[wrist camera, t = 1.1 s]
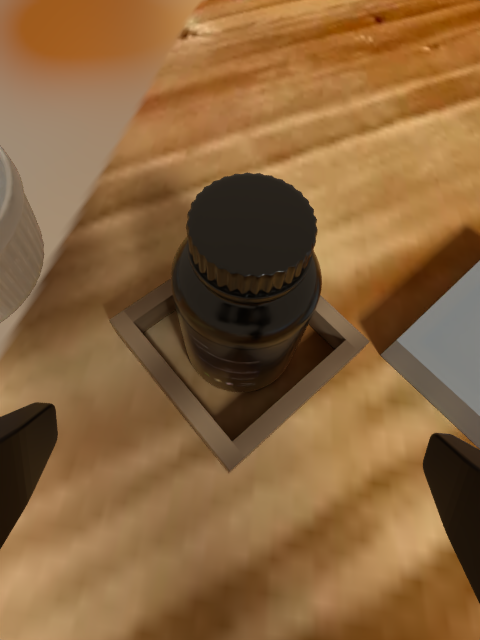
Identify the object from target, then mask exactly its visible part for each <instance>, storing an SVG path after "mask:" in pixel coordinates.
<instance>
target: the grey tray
mask: <svg viewBox="0 0 480 640" xmlns="http://www.w3.org/2000/svg"><path fill="white" fill-rule="evenodd" d="M381 356H382V357H383V358H384V359H385V360H386V361H387V362H388V363H389V364H390V365H391V366H392V367H393V368H394V369H395V370H397V371H398V372H399V373H400V374H401V375H402V376H403V377H404V378H405V379H406V380H407V381H408V382H409V383H410V384H411V385H412V386H414V387H415V388H416V389H417V390H418V391H419V392H420V393H421V394H422V395H423V396H424V397H425V398H426V399H427V400H428V401H429V402H431V403H432V404H433V405H434V406H435V407H436V408H437V409H438V410H439V411H440V412H441V413H442V414H443V415H444V416H445V417H446V418H448V419H449V420H450V421H451V422H452V423H453V424H454V425H455V426H456V427H457V428H458V429H459V430H460V431H461V432H462V433H463V434H465V435H466V436H467V437H468V438H469V439H470V440H471V441H472V442H473V443H474V444H475V445H476V446H477V447H478V448H479V449H480V260H479V261H478V262H477V263H476V264H475V265H474V266H473V267H472V268H471V269H470V270H469V271H468V272H467V273H465V274H464V275H463V276H462V277H461V278H460V279H459V280H458V281H457V282H456V283H455V284H454V285H453V286H452V287H451V288H450V289H449V290H448V291H447V292H446V293H445V294H444V295H443V296H441V297H440V298H439V299H438V300H437V301H436V302H435V303H434V304H433V305H432V306H431V307H430V308H429V309H428V310H427V311H426V312H425V313H424V314H423V315H422V316H421V317H420V318H418V319H417V320H416V321H415V322H414V323H413V324H412V325H411V326H410V327H409V328H408V329H407V330H406V331H405V332H404V333H403V334H402V335H401V336H400V337H399V338H398V339H397V340H396V341H394V342H393V343H392V344H391V345H390V346H389V347H388V348H387V349H386V350H385V351H384V352H383V353H382V354H381Z"/></svg>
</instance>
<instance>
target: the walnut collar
mask: <svg viewBox="0 0 480 640" xmlns="http://www.w3.org/2000/svg"><path fill="white" fill-rule="evenodd" d="M174 310H176V307H175V303H174V299H173V294H172V288H171V279H169V280H168V281H166V282H165V283H163V284H162V285H160V286H159V287H157V288H156V289H154V290H153V291H151V292H150V293H148V294H147V295H145V296H144V297H143V298H141V299H140V300H138V301H137V302H135V303H134V304H132V305H131V306H129V307H128V308H126V309H125V310H123V311H122V312H120V313H119V314H117V315H116V316H114V317H113V318H111V319H110V320H109V321H110V323H111V324H112V326H113V328H114V329H115V331H116V333H117V334H118V335H119V337H120V338H121V339H122V340H123V342H124V343H125V344H126V345H127V347H128V348H129V349H130V350H131V352H132V353H133V354H134V356H135V357H136V358H137V359H138V361H139V362H140V363H141V364H142V366H143V367H144V368H145V369H146V371H147V372H148V373H149V374H150V376H151V377H152V378H153V379H154V381H155V382H156V383H157V384H158V386H159V387H160V388H161V389H162V391H163V392H164V393H165V394H166V396H167V397H168V398H169V399H170V401H171V402H172V403H173V404H174V406H175V407H176V408H177V409H178V411H179V412H180V413H181V414H182V416H183V417H184V418H185V419H186V421H187V422H188V423H189V424H190V426H191V427H192V428H193V429H194V431H195V432H196V433H197V434H198V436H199V437H200V438H201V439H202V441H203V442H204V443H205V444H206V446H207V447H208V448H209V449H210V451H211V452H212V453H213V454H214V456H215V457H216V458H217V459H218V461H219V462H220V463H221V464H222V466H223V467H224V468H225V469H226V471H227V472H228V473H230V472H231V471H232V470H233V469H234V468H236V467H237V466H238V465H239V464H240V463H241V462H242V461H243V460H244V459H245V458H246V457H247V456H248V455H250V454H251V453H252V452H253V451H254V450H255V449H256V448H257V447H258V446H259V445H260V444H261V443H263V442H264V441H265V440H266V439H267V438H268V437H269V436H270V435H271V434H272V433H273V432H274V431H275V430H277V429H278V428H279V427H280V426H281V425H282V424H283V423H284V422H285V421H286V420H287V419H288V418H289V417H291V416H292V415H293V414H294V413H295V412H296V411H297V410H298V409H299V408H300V407H301V406H302V405H303V404H305V403H306V402H307V401H308V400H309V399H310V398H311V397H312V396H313V395H314V394H315V393H316V392H317V391H319V390H320V389H321V388H322V387H323V386H324V385H325V384H326V383H327V382H328V381H329V380H330V379H331V378H333V377H334V376H335V375H336V374H337V373H338V372H339V371H340V370H341V369H342V368H343V367H344V366H345V365H347V364H348V363H349V362H350V361H351V360H352V359H353V358H354V357H355V356H356V355H357V354H358V353H359V352H360V351H361V350H362V349H363V348H364V347H365V346H366V345H367V344H368V343H369V342H370V341H369V340H368V339H366V338H365V337H364V336H363V335H362V334H361V333H360V332H359V331H358V330H357V329H356V328H355V327H354V326H353V325H352V324H350V323H349V322H348V321H347V320H346V319H345V318H344V317H343V316H342V315H341V314H340V313H339V312H338V311H337V310H336V309H334V308H333V307H332V306H331V305H330V304H329V303H328V302H327V301H326V300H325V299H324V298H323V297H322V296H321V295H320V298H319V301H318V304H317V307H316V309H315V311H314V313H313V316H312V318H311V320H310V322H309V325H310V326H311V327H312V328H313V329H314V330H315V331H316V332H317V333H318V334H319V335H320V336H321V337H322V338H324V339H325V340H326V341H327V342H328V343H329V344H330V345H331V346H332V347H333V348H334V349H335V350H334V351H333V352H332V353H331V354H330V355H329V356H327V357H326V358H325V359H324V360H323V361H322V362H321V363H320V364H319V365H317V366H316V367H315V368H314V369H313V370H312V371H311V372H310V373H308V374H307V375H306V376H305V377H304V378H303V379H302V380H301V381H300V382H298V383H297V384H296V385H295V386H294V387H293V388H292V389H291V390H290V391H288V392H287V393H286V394H285V395H284V396H283V397H282V398H281V399H279V400H278V401H277V402H276V403H275V404H274V405H273V406H272V407H271V408H269V409H268V410H267V411H266V412H265V413H264V414H263V415H262V416H260V417H259V418H258V419H257V420H256V421H255V422H254V423H253V424H252V425H250V426H249V427H248V428H247V429H246V430H245V431H244V432H243V433H242V434H240V435H239V436H238V437H237V438H236V439H235V440H234V441H233V442H232V441H231V440H230V439H229V437H228V436H227V435H226V434H225V433H224V431H223V430H222V429H221V428H220V427H219V425H218V424H217V423H216V422H215V421H214V419H213V418H212V417H211V416H210V414H209V413H208V412H207V411H206V410H205V408H204V407H203V406H202V405H201V404H200V402H199V401H198V400H197V399H196V398H195V396H194V395H193V394H192V393H191V392H190V390H189V389H188V388H187V387H186V385H185V384H184V383H183V382H182V381H181V379H180V378H179V377H178V376H177V375H176V373H175V372H174V371H173V370H172V369H171V367H170V366H169V365H168V364H167V363H166V361H165V360H164V359H163V358H162V356H161V355H160V354H159V353H158V352H157V350H156V349H155V348H154V347H153V346H152V344H151V343H150V342H149V341H148V340H147V338H146V337H145V336H144V335H143V334H142V333H143V332H145V331H146V330H147V329H149V328H150V327H152V326H153V325H155V324H156V323H157V322H159V321H160V320H162V319H163V318H164V317H166V316H167V315H169V314H170V313H172V312H173V311H174Z"/></svg>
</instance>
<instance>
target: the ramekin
mask: <svg viewBox="0 0 480 640" xmlns="http://www.w3.org/2000/svg"><path fill="white" fill-rule="evenodd" d="M43 246H44V244H43V240H42V235H41V231H40V228H39V226H38V223H37V221H36V218H35V216H34V214H33V211H32V209H31V207H30V205H29V202H28V200H27V198H26V196H25V194H24V191H23V185H22V181H21V178H20V175H19V173H18V171H17V169H16V167H15V165H14V164H13V162H12V161H11V159H10V158H9V156H8V155H7V153H6V152H5V151H4V149H3V148H2V147H1V146H0V323H1V322H2V321H4V320H5V319H6V318H7V317H9V316H10V315H11V314H12V313H13V312H15V311H16V310H17V309H18V308H19V306H21V304H22V303H23V302H24V301H25V300H26V298H27V297H28V296H29V295H30V293H31V291H32V289H33V288H34V286H35V285H36V282H37V280H38V278H39V276H40V272H41V269H42V266H43V258H44V252H43Z"/></svg>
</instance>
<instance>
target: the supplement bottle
mask: <svg viewBox="0 0 480 640" xmlns="http://www.w3.org/2000/svg"><path fill="white" fill-rule="evenodd" d="M187 217H188V221H187V225H186V229H187V237H186V238H185V240H184V241H183V243H182V244H181V245H180V247H179V249H178V251H177V253H176V255H175V257H174V261H173V264H172V269H171V288H172V294H173V299H174V303H175V307H176V311H177V315H178V319H179V323H180V327H181V331H182V335H183V339H184V343H185V347H186V351H187V354H188V357H189V359H190V362H191V363H192V365H193V367H194V369H195V370H196V371H197V373H198V374H199V375H200V376H201V377H202V378H203V379H204V380H206V381H207V382H208V383H210V384H211V385H213V386H215V387H217V388H220V389H222V390H226V391H231V392H250V391H255V390H258V389H261V388H263V387H265V386H267V385H269V384H271V383H272V382H273V381H275V380H276V379H277V378H278V377H279V376H280V375H281V374H282V373H283V371H284V370H285V369H286V367H287V366H288V364H289V362H290V360H291V358H292V356H293V354H294V352H295V350H296V348H297V346H298V344H299V342H300V340H301V338H302V336H303V334H304V332H305V330H306V328H307V326H308V324H309V322H310V320H311V318H312V316H313V313H314V311H315V309H316V307H317V304H318V301H319V298H320V294H321V287H322V276H321V269H320V265H319V262H318V259H317V257H316V254H315V252H314V250H313V249H314V246H315V243H316V235H317V227H316V222H317V219H316V217H315V216H314V209H313V208H312V207H311V206H310V205H309V201H308V200H307V199H306V198H305V197H303V195H302V193H301V192H300V191H298V190H296V189H295V188H294V187H293V186H292V185H290V184H287V183H285V182H284V181H283V180H281V179H276V178H274V177H273V176H269V175H263V174H260V173H257V174H251V173H244V174H234V175H232V176H226V177H223V178H222V179H221V180H217V181H214V182H213V183H212V184H211V185H209V186H206V187H204V189H203V191H202V192H200V193H199V194H197V196H196V200H194V201H193V202H192V203H191V209H190V211H189V212H188V215H187Z"/></svg>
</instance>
